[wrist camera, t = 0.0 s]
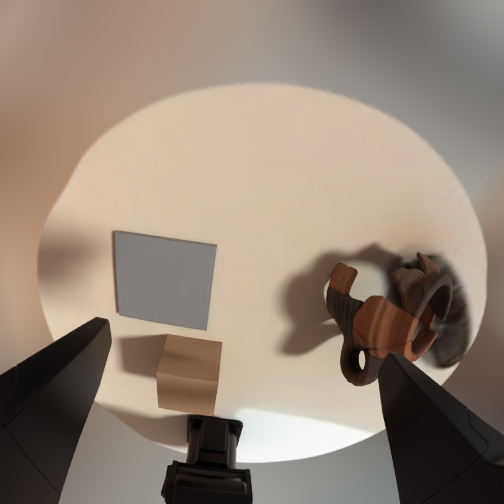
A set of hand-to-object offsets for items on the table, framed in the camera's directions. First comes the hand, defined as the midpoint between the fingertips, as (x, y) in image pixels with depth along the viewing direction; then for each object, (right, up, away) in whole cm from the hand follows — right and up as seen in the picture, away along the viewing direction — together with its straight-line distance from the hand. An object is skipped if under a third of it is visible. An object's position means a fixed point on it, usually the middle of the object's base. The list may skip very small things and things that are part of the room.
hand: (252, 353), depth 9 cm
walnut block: (-6, -7, +20) cm, 21 cm away
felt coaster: (-7, +1, +16) cm, 17 cm away
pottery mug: (+11, -1, +17) cm, 20 cm away
